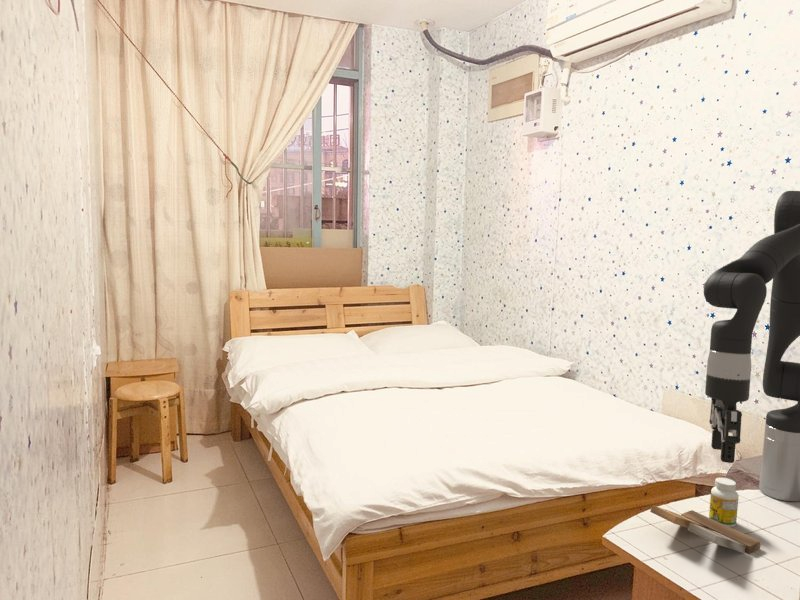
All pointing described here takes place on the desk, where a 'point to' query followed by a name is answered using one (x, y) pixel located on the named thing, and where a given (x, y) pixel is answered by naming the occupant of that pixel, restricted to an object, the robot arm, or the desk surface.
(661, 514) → the chestnut plank
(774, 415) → the robot arm
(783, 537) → the desk surface
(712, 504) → the supplement bottle
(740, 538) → the walnut panel
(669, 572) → the desk surface
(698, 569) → the desk surface
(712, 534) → the grey ash plank
